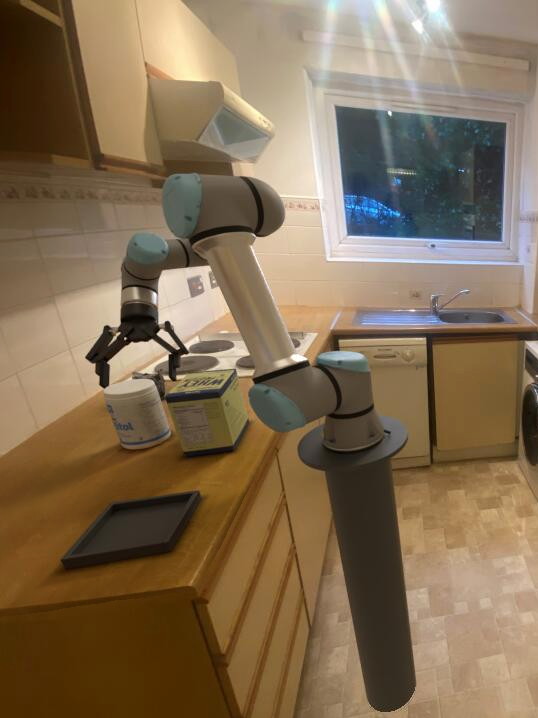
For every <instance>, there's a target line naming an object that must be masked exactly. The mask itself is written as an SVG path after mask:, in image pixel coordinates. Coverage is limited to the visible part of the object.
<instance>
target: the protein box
mask: <svg viewBox="0 0 538 718" xmlns="http://www.w3.org/2000/svg"><path fill="white" fill-rule="evenodd" d="M164 400H165V402H166V405H167V408H168V410H169V414H170V417H171V420H172V422H173V426H174V429H175V431H176V435H177V438H178V441H179V444H180V447H181V450H182V453H183V455H184V458H189V457H197V456H204V455H213V454H218V453H219V454H220V453H225V452H234V451H235V450H236V448H237V446H238V445H239V444H240V441H241V439H242V437H243V436H244V434H245V431H246V430H247V428H248V426H249V424H250V418H249V415H248V414H249V413H248V410H247V406H246V403H245V399H244V395H243V391H242V386H241V383H240V379H239V376H238V372H237V368H226V369H213V370H202V371H189V372H188V373H187V374H186V375H185V376H184V377H183V378H182V379H181V380H180V381H179V382H178V383H177V384H176V385H174V387H173V388H172V389H171V390H170V391H168V392H167V393H166V394H165V398H164Z"/></svg>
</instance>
